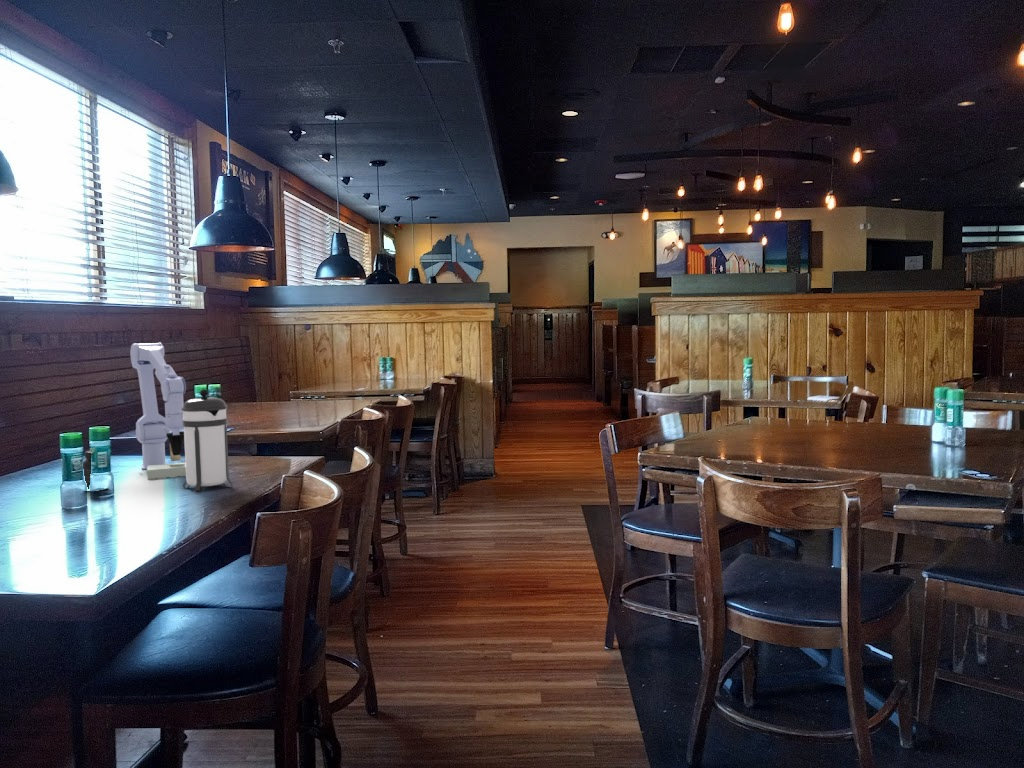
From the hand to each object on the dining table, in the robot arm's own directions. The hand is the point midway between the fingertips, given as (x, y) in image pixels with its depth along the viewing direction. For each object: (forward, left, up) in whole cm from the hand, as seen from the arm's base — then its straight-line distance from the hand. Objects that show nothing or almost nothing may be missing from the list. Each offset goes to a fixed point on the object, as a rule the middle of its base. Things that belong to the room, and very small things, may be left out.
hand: (176, 454), depth 253 cm
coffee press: (+29, +7, -7) cm, 31 cm away
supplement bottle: (+16, -23, -7) cm, 29 cm away
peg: (0, 0, -2) cm, 2 cm away
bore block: (0, 0, -7) cm, 7 cm away
